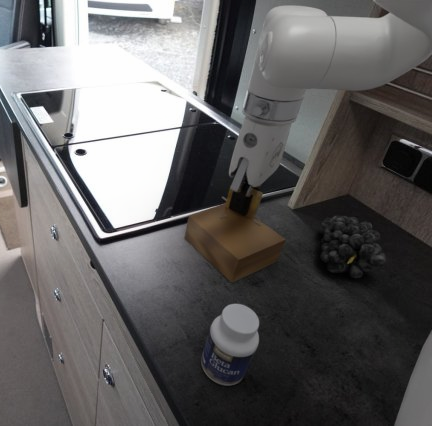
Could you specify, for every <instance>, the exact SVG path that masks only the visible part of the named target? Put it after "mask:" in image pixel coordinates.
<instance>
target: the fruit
mask: <svg viewBox="0 0 432 426" xmlns="http://www.w3.org/2000/svg"><path fill="white" fill-rule="evenodd" d="M320 226H321V228H322V229H323V237H322V238H321V239H320V244H321V245H320V246H321V247H320V249H321V252H320V254H319V258H320V260H321V261H322V262H323V263H325V264H326V269H327V271H328V272H330V273H332V274H334V273H335V274H339V273H340V274H342V275H343V274H346V273H348V274H349V276H350V277H351V278H354V279H360V278H362V277H363V276H364V272H366V273H368V272H372V271H373V270H374V269H375V268H376V267H378V268H382V267H383V266H385V265H386V263H387V257H386V255H385V253H383V252H382V251H383V248H382V247H381V246H380V245H379V243H377V242H378V241H379V240H380V236H381V235H380V232H379V231H377V230H373V225H372V223H371V222H369V221H367V220H364V221H361V222H359V219H358V218H357V217H356V216H349V217H348V216H346V215H334V216H333V217H326V218H324V219H323V220H322V222H321V224H320Z"/></svg>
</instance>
